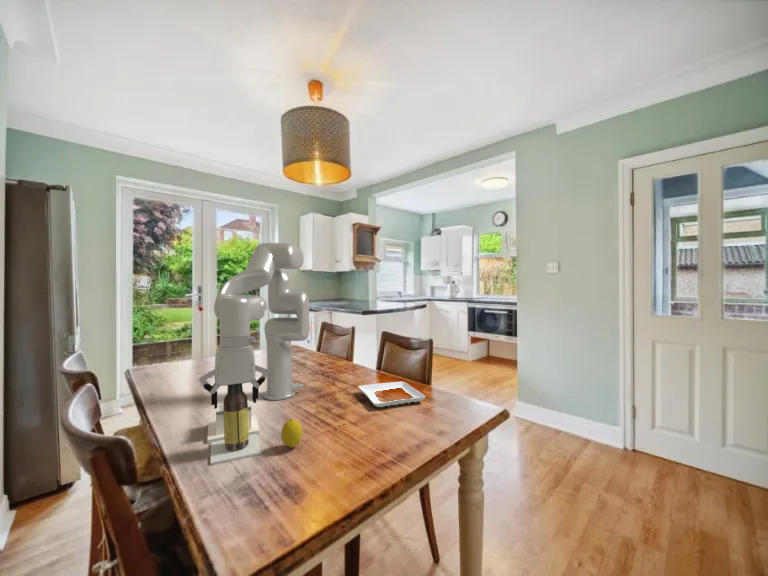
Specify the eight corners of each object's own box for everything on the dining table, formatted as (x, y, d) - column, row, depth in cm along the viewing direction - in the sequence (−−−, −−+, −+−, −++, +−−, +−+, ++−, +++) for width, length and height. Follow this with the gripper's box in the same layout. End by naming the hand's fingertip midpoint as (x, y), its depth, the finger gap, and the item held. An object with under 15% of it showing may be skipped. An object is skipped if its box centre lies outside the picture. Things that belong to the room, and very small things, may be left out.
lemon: (294, 441, 95) (294, 413, 95) (306, 447, 92) (306, 418, 92) (277, 448, 91) (277, 419, 91) (289, 454, 88) (289, 425, 88)
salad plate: (426, 404, 125) (427, 395, 125) (374, 412, 118) (374, 403, 118) (403, 388, 145) (403, 380, 145) (356, 394, 137) (357, 385, 137)
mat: (256, 435, 99) (256, 433, 99) (261, 454, 88) (261, 452, 88) (211, 444, 93) (211, 442, 93) (210, 465, 83) (210, 462, 83)
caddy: (255, 416, 113) (255, 394, 112) (259, 433, 100) (259, 408, 100) (208, 424, 106) (208, 401, 106) (207, 443, 94) (207, 416, 94)
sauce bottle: (247, 439, 95) (247, 370, 95) (250, 448, 90) (250, 375, 90) (222, 444, 92) (222, 373, 92) (224, 454, 87) (223, 378, 87)
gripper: (266, 337, 97) (266, 395, 98) (199, 342, 90) (200, 404, 90) (270, 341, 91) (270, 403, 91) (198, 346, 83) (198, 414, 83)
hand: (235, 404), depth 90 cm, fingers open, 9 cm apart
